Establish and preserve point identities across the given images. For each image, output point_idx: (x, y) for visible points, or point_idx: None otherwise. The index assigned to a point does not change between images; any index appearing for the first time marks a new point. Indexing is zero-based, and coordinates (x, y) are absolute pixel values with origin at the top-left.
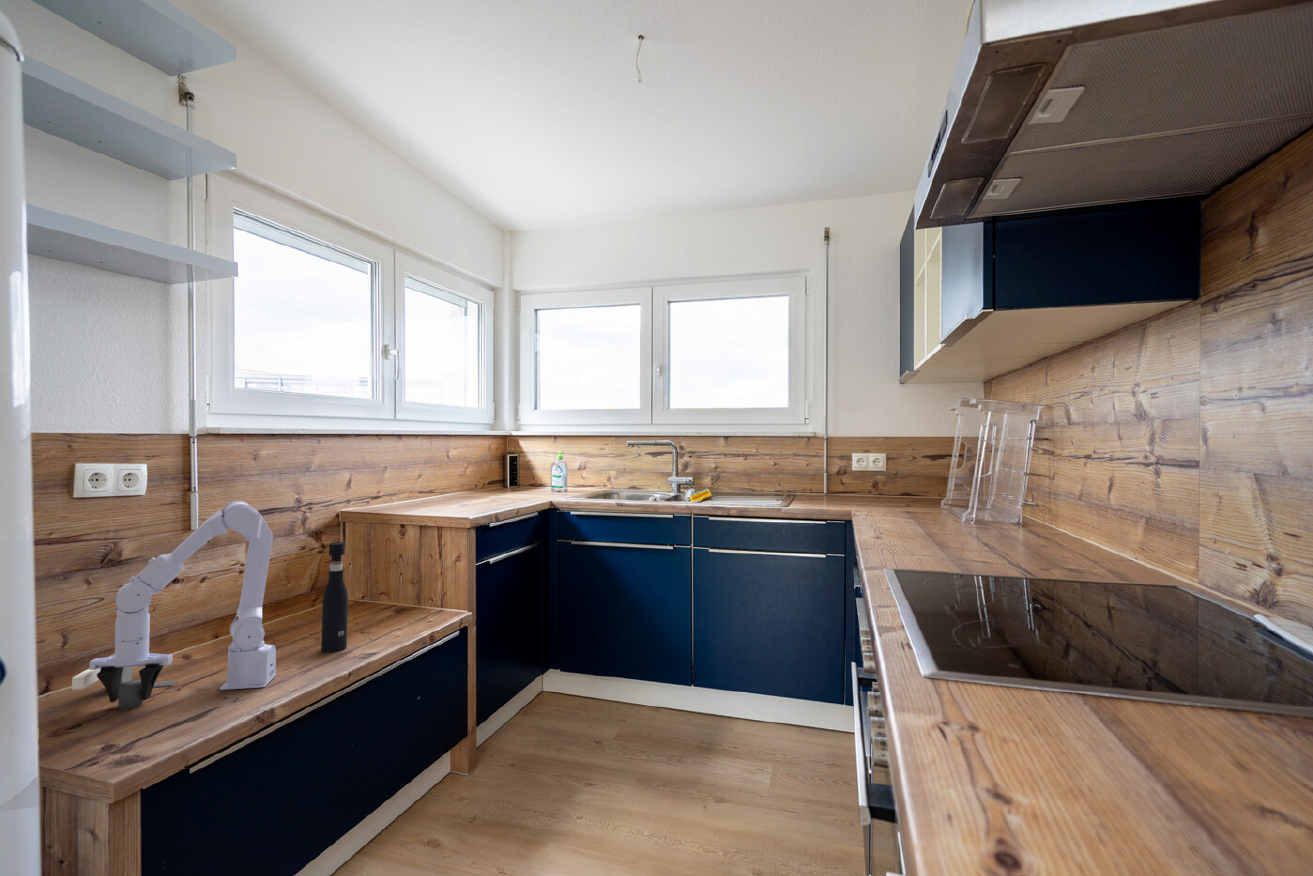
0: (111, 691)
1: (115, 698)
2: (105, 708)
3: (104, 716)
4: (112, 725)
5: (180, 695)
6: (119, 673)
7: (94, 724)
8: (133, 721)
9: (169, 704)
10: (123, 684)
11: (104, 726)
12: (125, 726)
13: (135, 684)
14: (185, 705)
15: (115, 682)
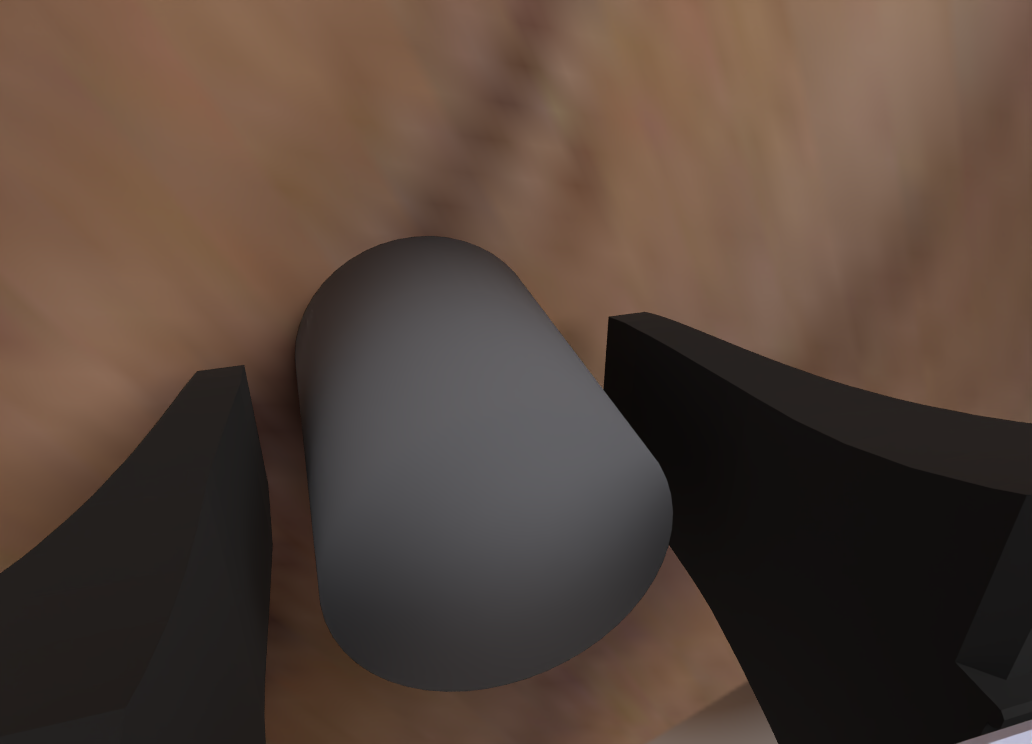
0: (261, 650)
1: (261, 477)
2: (133, 412)
3: (315, 587)
4: (520, 703)
5: (875, 64)
6: (203, 712)
7: (351, 711)
8: (646, 638)
9: (818, 330)
10: (396, 613)
11: (467, 722)
12: (628, 701)
13: (608, 600)
14: (953, 359)
15: (239, 672)
